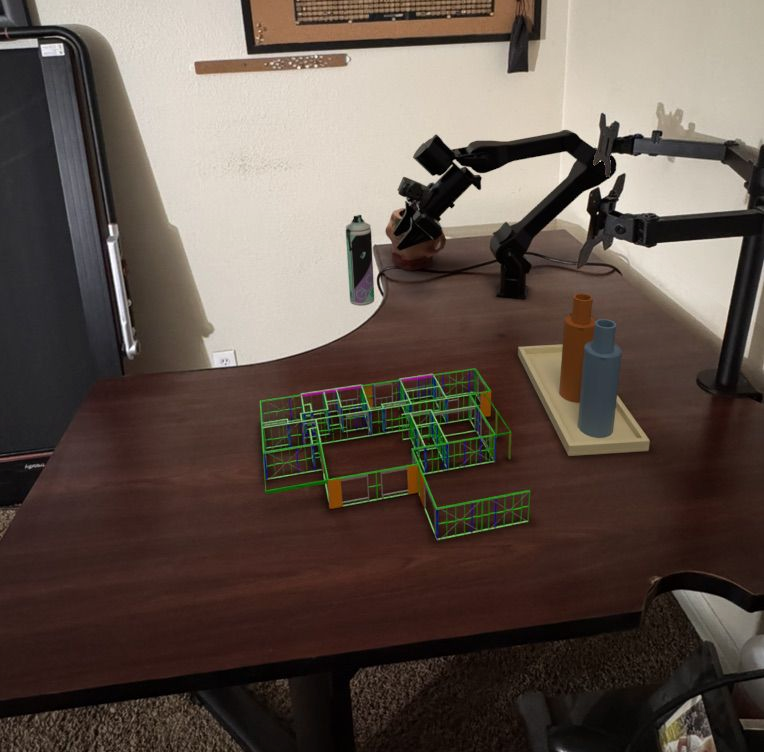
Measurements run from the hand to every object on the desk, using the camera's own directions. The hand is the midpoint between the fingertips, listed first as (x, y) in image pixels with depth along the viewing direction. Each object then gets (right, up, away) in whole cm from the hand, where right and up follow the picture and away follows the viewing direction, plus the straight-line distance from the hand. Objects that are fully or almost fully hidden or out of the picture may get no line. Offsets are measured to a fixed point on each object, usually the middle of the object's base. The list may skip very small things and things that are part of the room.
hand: (396, 241), depth 136 cm
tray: (+28, -26, -33) cm, 51 cm away
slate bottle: (+29, -29, -42) cm, 59 cm away
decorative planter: (+6, -6, +24) cm, 25 cm away
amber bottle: (+28, -26, -33) cm, 51 cm away
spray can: (-8, -13, +5) cm, 16 cm away
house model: (-2, -33, -47) cm, 58 cm away
